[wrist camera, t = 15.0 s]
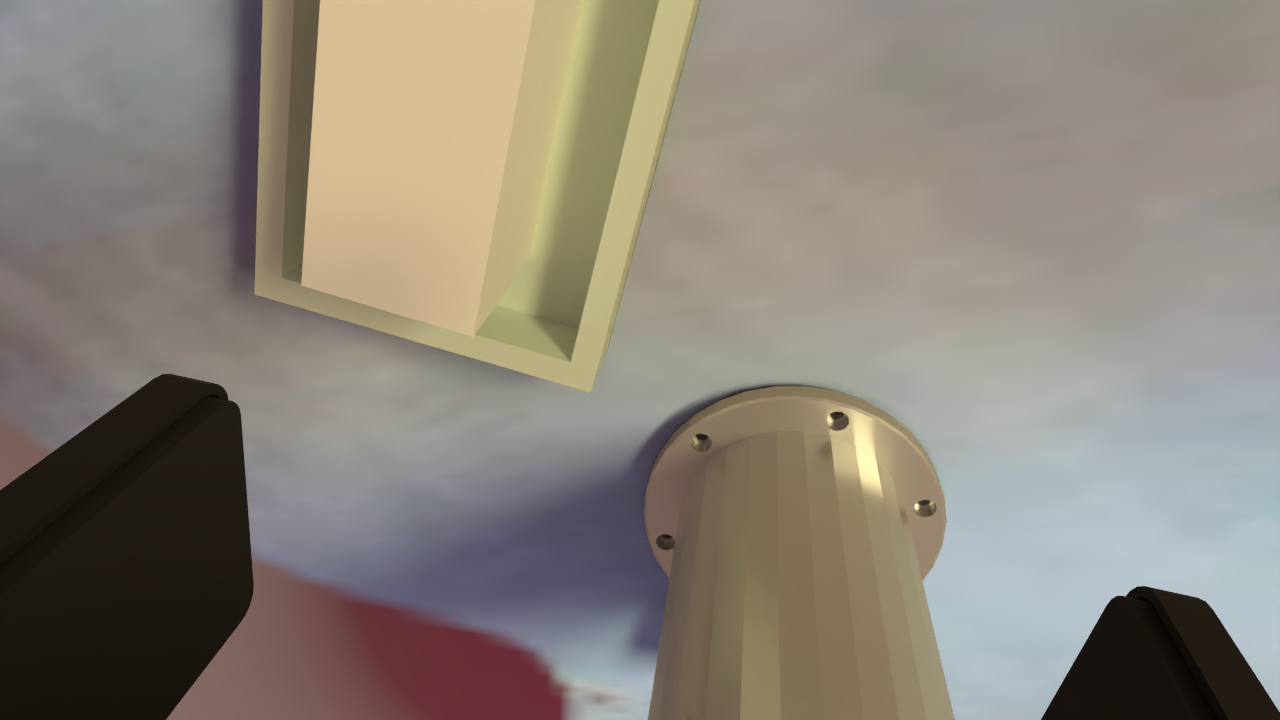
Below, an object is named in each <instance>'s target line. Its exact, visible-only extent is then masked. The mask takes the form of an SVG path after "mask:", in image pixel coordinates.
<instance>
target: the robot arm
mask: <svg viewBox="0 0 1280 720" xmlns="http://www.w3.org/2000/svg"><path fill="white" fill-rule="evenodd" d="M833 412H840V413H838V414H833ZM700 434H705V435H700ZM644 521H645V527H646V534H647V539H648V541H649V544H650V546H651V549H652V551H653V554H654V556H655V559H656V560H657V562H658V563H659V565H660V566H661V568H662V569H663V571H664V572H665V574H666V575H667V577H668V578H669V584H668V591H667V597H666V604H665V610H664V617H663V623H662V630H661V637H660V643H659V650H658V656H657V663H656V669H655V676H654V683H653V689H652V696H651V702H650V709H649V715H648V720H955V719H954V715H953V711H952V706H951V702H950V698H949V694H948V689H947V685H946V681H945V676H944V672H943V668H942V663H941V659H940V655H939V651H938V646H937V642H936V638H935V633H934V629H933V625H932V620H931V616H930V612H929V608H928V603H927V599H926V595H925V590H924V586H923V582H922V581H923V580H924V578H925V577H926V576H927V574H928V573H929V572H930V570H931V569H932V567H933V566H934V564H935V561H936V559H937V557H938V554H939V552H940V550H941V547H942V545H943V539H944V533H945V527H946V511H945V499H944V495H943V492H942V488H941V485H940V481H939V478H938V475H937V472H936V470H935V468H934V466H933V464H932V462H931V460H930V458H929V456H928V454H927V452H926V451H925V450H924V448H923V447H922V446H921V444H920V443H919V442H918V441H917V439H916V438H915V437H914V436H913V434H912V433H911V432H910V431H909V430H907V429H906V428H905V427H904V426H903V425H901V424H900V423H899V422H898V421H897V420H895V419H894V418H893V417H892V416H891V415H889V414H887V413H886V412H884V411H882V410H880V409H878V408H877V407H875V406H873V405H871V404H869V403H868V402H866V401H864V400H861V399H858V398H855V397H852V396H849V395H846V394H843V393H840V392H837V391H832V390H826V389H820V388H814V387H808V386H774V387H768V388H763V389H757V390H751V391H745V392H743V393H740V394H737V395H734V396H731V397H728V398H726V399H723V400H720V401H718V402H716V403H714V404H712V405H711V406H709V407H707V408H705V409H704V410H702V411H700V412H698V413H697V414H695V415H694V416H692V417H691V418H690V419H689V420H688V421H687V422H686V423H684V424H683V425H682V426H681V427H680V428H679V429H677V430H676V431H675V432H674V434H673V435H672V436H671V437H670V439H669V440H668V441H667V443H666V444H665V445H664V447H663V448H662V449H661V451H660V453H659V455H658V457H657V459H656V461H655V464H654V466H653V468H652V470H651V473H650V477H649V482H648V486H647V490H646V494H645V506H644ZM252 595H253V574H252V559H251V545H250V532H249V518H248V505H247V491H246V478H245V465H244V451H243V438H242V424H241V414H240V409H239V407H238V405H237V404H236V403H234V402H233V401H228V396H227V393H226V391H225V390H224V388H223V387H221V386H220V385H218V384H214V383H209V382H205V381H200V380H196V379H191V378H186V377H182V376H177V375H173V374H162V375H160V376H158V377H156V378H154V379H153V380H152V381H150V382H149V383H148V384H146V385H145V386H143V387H142V388H141V389H139V390H138V391H137V392H135V393H134V394H132V395H131V396H130V397H128V398H127V399H125V400H124V401H123V402H121V403H120V404H119V405H117V406H116V407H114V408H113V409H112V410H110V411H109V412H108V413H106V414H105V415H103V416H102V417H101V418H99V419H98V420H97V421H95V422H94V423H92V424H91V425H90V426H88V427H87V428H85V429H84V430H83V431H81V432H80V433H79V434H77V435H76V436H74V437H73V438H72V439H70V440H69V441H68V442H66V443H65V444H63V445H62V446H61V447H59V448H58V449H57V450H55V451H54V452H52V453H51V454H50V455H48V456H47V457H45V458H44V459H43V460H41V461H40V462H39V463H37V464H36V465H34V466H33V467H32V468H30V469H29V470H28V471H26V472H25V473H23V474H22V475H21V476H19V477H18V478H17V479H15V480H14V481H13V482H11V483H10V484H8V485H7V486H6V487H4V488H3V489H1V490H0V720H166V719H167V717H168V716H169V715H170V714H171V712H172V711H173V710H174V708H175V707H176V705H177V704H178V703H179V702H180V701H181V699H182V698H183V697H184V695H185V694H186V693H187V691H188V690H189V689H190V687H191V686H192V685H193V684H194V682H195V681H196V680H197V678H198V677H199V676H200V674H201V673H202V672H203V670H204V669H205V668H206V667H207V665H208V664H209V663H210V661H211V660H212V659H213V657H214V656H215V655H216V654H217V652H218V651H219V650H220V648H221V647H222V646H223V645H224V643H225V642H226V641H227V639H228V638H229V637H230V635H231V634H232V633H233V631H234V630H235V629H236V628H237V626H238V625H239V624H240V622H241V621H242V619H243V618H244V616H245V615H246V612H247V610H248V608H249V606H250V602H251V600H252ZM1041 720H1280V712H1279V711H1278V709H1277V708H1276V706H1275V705H1274V703H1273V701H1272V700H1271V698H1270V697H1269V695H1268V694H1267V692H1266V691H1265V689H1264V688H1263V686H1262V685H1261V683H1260V681H1259V680H1258V678H1257V677H1256V675H1255V674H1254V672H1253V671H1252V669H1251V668H1250V666H1249V665H1248V663H1247V661H1246V660H1245V658H1244V657H1243V655H1242V654H1241V652H1240V651H1239V649H1238V648H1237V646H1236V645H1235V643H1234V641H1233V640H1232V638H1231V637H1230V635H1229V634H1228V632H1227V631H1226V629H1225V628H1224V626H1223V625H1222V623H1221V621H1220V620H1219V618H1218V617H1217V615H1216V614H1215V612H1214V611H1213V609H1212V608H1211V607H1210V606H1209V605H1208V604H1207V603H1206V602H1205V601H1203V600H1201V599H1199V598H1196V597H1191V596H1187V595H1182V594H1178V593H1173V592H1169V591H1164V590H1159V589H1155V588H1150V587H1146V586H1142V587H1136V588H1134V589H1133V590H1131V591H1130V592H1129V593H1128V594H1127V596H1126V597H1124V596H1116V597H1115V598H1113V599H1111V601H1110V602H1109V603H1108V605H1107V606H1106V608H1105V609H1104V611H1103V613H1102V615H1101V616H1100V618H1099V620H1098V622H1097V623H1096V625H1095V627H1094V629H1093V630H1092V632H1091V634H1090V636H1089V637H1088V639H1087V641H1086V642H1085V644H1084V646H1083V648H1082V649H1081V651H1080V653H1079V655H1078V656H1077V658H1076V660H1075V662H1074V663H1073V665H1072V667H1071V669H1070V670H1069V672H1068V674H1067V675H1066V677H1065V679H1064V681H1063V682H1062V684H1061V686H1060V688H1059V689H1058V691H1057V693H1056V695H1055V696H1054V698H1053V700H1052V702H1051V703H1050V705H1049V707H1048V708H1047V710H1046V712H1045V714H1044V715H1043V717H1042V719H1041Z"/></svg>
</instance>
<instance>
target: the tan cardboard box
mask: <svg viewBox="0 0 1280 720" xmlns="http://www.w3.org/2000/svg"><path fill="white" fill-rule="evenodd" d="M584 1H585V0H320V10H319V25H318V40H317V55H316V70H315V85H314V100H313V115H312V130H311V145H310V160H309V175H308V190H307V205H306V220H305V235H304V250H303V265H302V280H301V286H305V287H308V288H311V289H315V290H318V291H321V292H325V293H328V294H331V295H335V296H338V297H341V298H345V299H348V300H351V301H355V302H358V303H361V304H365V305H368V306H371V307H375V308H378V309H381V310H385V311H388V312H391V313H395V314H398V315H402V316H405V317H408V318H412V319H415V320H418V321H422V322H425V323H428V324H432V325H435V326H438V327H442V328H445V329H448V330H452V331H455V332H458V333H462V334H465V335H468V336H472V337H474V335H475V334H476V333H477V331H478V330H479V328H480V327H481V325H482V324H483V323H484V321H485V320H486V318H487V317H488V316H489V314H490V313H491V311H492V310H493V309H494V307H495V306H496V304H497V303H498V301H499V300H500V299H501V297H502V296H503V294H504V293H505V292H506V290H507V289H508V287H509V286H510V285H511V283H512V282H513V280H514V279H515V277H516V276H517V275H518V273H519V272H520V270H521V269H522V268H523V266H524V265H525V263H526V262H527V261H528V259H529V258H530V256H531V252H532V247H533V242H534V237H535V233H536V228H537V223H538V218H539V214H540V209H541V204H542V199H543V195H544V190H545V185H546V181H547V176H548V171H549V166H550V162H551V157H552V152H553V147H554V143H555V138H556V133H557V128H558V124H559V119H560V114H561V110H562V105H563V100H564V95H565V91H566V86H567V81H568V76H569V72H570V67H571V62H572V58H573V53H574V48H575V43H576V39H577V34H578V29H579V24H580V20H581V15H582V10H583V5H584Z"/></svg>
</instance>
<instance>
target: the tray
mask: <svg viewBox="0 0 1280 720" xmlns="http://www.w3.org/2000/svg"><path fill="white" fill-rule="evenodd" d="M700 1H701V0H585V1H584V5H583V10H582V15H581V20H580V24H579V29H578V34H577V39H576V43H575V48H574V53H573V58H572V62H571V67H570V72H569V76H568V81H567V86H566V91H565V95H564V100H563V105H562V110H561V114H560V119H559V124H558V128H557V133H556V138H555V143H554V147H553V152H552V157H551V162H550V166H549V171H548V176H547V181H546V185H545V190H544V195H543V199H542V204H541V209H540V214H539V218H538V223H537V228H536V233H535V237H534V242H533V247H532V252H531V256H530V258H529V259H528V261H527V262H526V263H525V265H524V266H523V268H522V269H521V270H520V272H519V273H518V275H517V276H516V277H515V279H514V280H513V282H512V283H511V285H510V286H509V287H508V289H507V290H506V292H505V293H504V294H503V296H502V297H501V299H500V300H499V301H498V303H497V304H496V306H495V307H494V309H493V310H492V311H491V313H490V314H489V316H488V317H487V318H486V320H485V321H484V323H483V324H482V325H481V327H480V328H479V330H478V331H477V333H476V334H475V335H474V337H472V336H468V335H465V334H462V333H458V332H455V331H452V330H448V329H445V328H442V327H438V326H435V325H432V324H428V323H425V322H422V321H418V320H415V319H412V318H408V317H405V316H402V315H398V314H395V313H391V312H388V311H385V310H381V309H378V308H375V307H371V306H368V305H365V304H361V303H358V302H355V301H351V300H348V299H345V298H341V297H338V296H335V295H331V294H328V293H325V292H321V291H318V290H315V289H311V288H308V287H305V286H301V280H302V265H303V250H304V235H305V220H306V205H307V190H308V175H309V160H310V145H311V130H312V115H313V100H314V85H315V70H316V55H317V40H318V25H319V10H320V0H263V12H262V47H261V83H260V118H259V153H258V189H257V224H256V260H255V295H258V296H262V297H265V298H269V299H272V300H276V301H279V302H282V303H286V304H289V305H293V306H296V307H299V308H303V309H306V310H310V311H313V312H317V313H320V314H323V315H327V316H330V317H334V318H337V319H340V320H344V321H347V322H351V323H354V324H358V325H361V326H364V327H368V328H371V329H375V330H378V331H382V332H385V333H388V334H392V335H395V336H399V337H402V338H405V339H409V340H412V341H416V342H419V343H423V344H426V345H429V346H433V347H436V348H440V349H443V350H447V351H450V352H453V353H457V354H460V355H464V356H467V357H470V358H474V359H477V360H481V361H484V362H488V363H491V364H494V365H498V366H501V367H505V368H508V369H511V370H515V371H518V372H522V373H525V374H529V375H532V376H535V377H539V378H542V379H546V380H549V381H553V382H556V383H559V384H563V385H566V386H570V387H573V388H576V389H580V390H583V391H587V392H590V393H591V391H592V389H593V386H594V383H595V381H596V378H597V375H598V373H599V370H600V367H601V365H602V362H603V360H604V357H605V354H606V352H607V348H608V345H609V341H610V337H611V333H612V330H613V326H614V322H615V319H616V315H617V311H618V307H619V304H620V300H621V296H622V292H623V289H624V285H625V281H626V277H627V274H628V270H629V266H630V262H631V259H632V255H633V251H634V248H635V244H636V240H637V236H638V233H639V229H640V225H641V221H642V218H643V214H644V210H645V206H646V203H647V199H648V195H649V191H650V188H651V184H652V180H653V177H654V173H655V169H656V165H657V162H658V158H659V154H660V150H661V147H662V143H663V139H664V135H665V132H666V128H667V124H668V120H669V117H670V113H671V109H672V106H673V102H674V98H675V94H676V91H677V87H678V83H679V79H680V76H681V72H682V68H683V64H684V61H685V57H686V53H687V49H688V46H689V42H690V38H691V35H692V31H693V27H694V23H695V20H696V16H697V12H698V8H699V5H700Z"/></svg>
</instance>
